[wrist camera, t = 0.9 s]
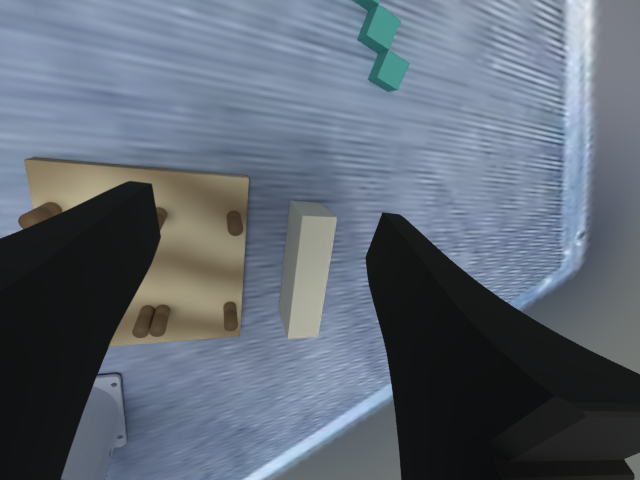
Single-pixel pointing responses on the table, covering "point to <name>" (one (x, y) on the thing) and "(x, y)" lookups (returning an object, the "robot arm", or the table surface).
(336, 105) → the table surface
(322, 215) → the clay bar
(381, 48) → the alien figure
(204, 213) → the peg rack
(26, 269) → the robot arm
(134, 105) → the table surface
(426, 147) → the table surface
